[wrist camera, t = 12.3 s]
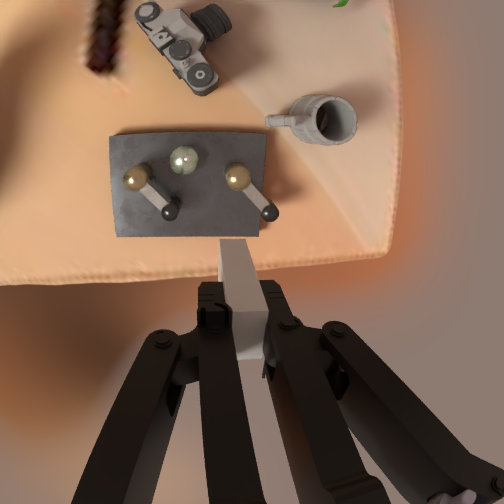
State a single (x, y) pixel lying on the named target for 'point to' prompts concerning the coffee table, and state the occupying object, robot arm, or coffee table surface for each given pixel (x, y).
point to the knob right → (250, 190)
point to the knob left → (151, 191)
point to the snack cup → (341, 3)
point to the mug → (336, 116)
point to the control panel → (187, 182)
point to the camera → (185, 40)
